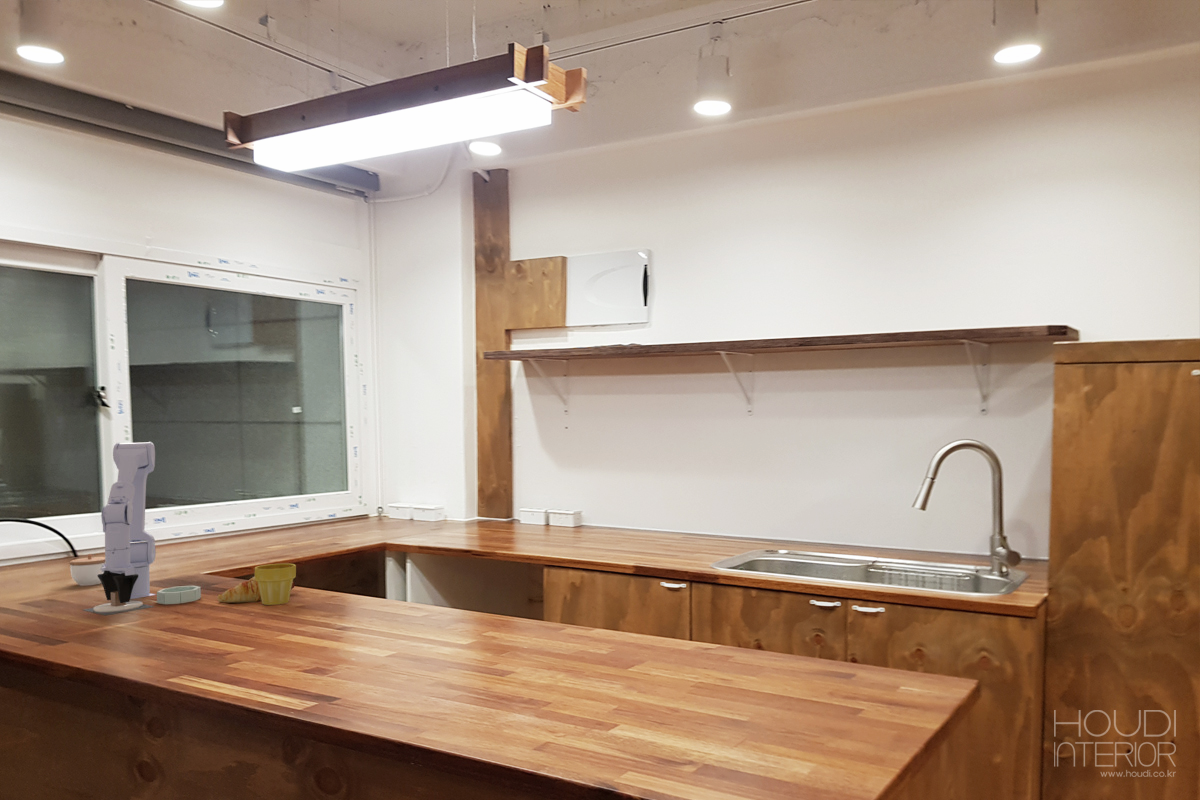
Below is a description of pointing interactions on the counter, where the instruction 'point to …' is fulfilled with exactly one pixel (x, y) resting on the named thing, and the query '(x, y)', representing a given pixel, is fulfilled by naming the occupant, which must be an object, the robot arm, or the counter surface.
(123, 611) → the mat
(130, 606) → the lid
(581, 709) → the counter surface
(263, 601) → the plant pot
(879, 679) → the counter surface
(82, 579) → the lidded jar
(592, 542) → the counter surface
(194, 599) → the bowl
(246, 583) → the croissant
